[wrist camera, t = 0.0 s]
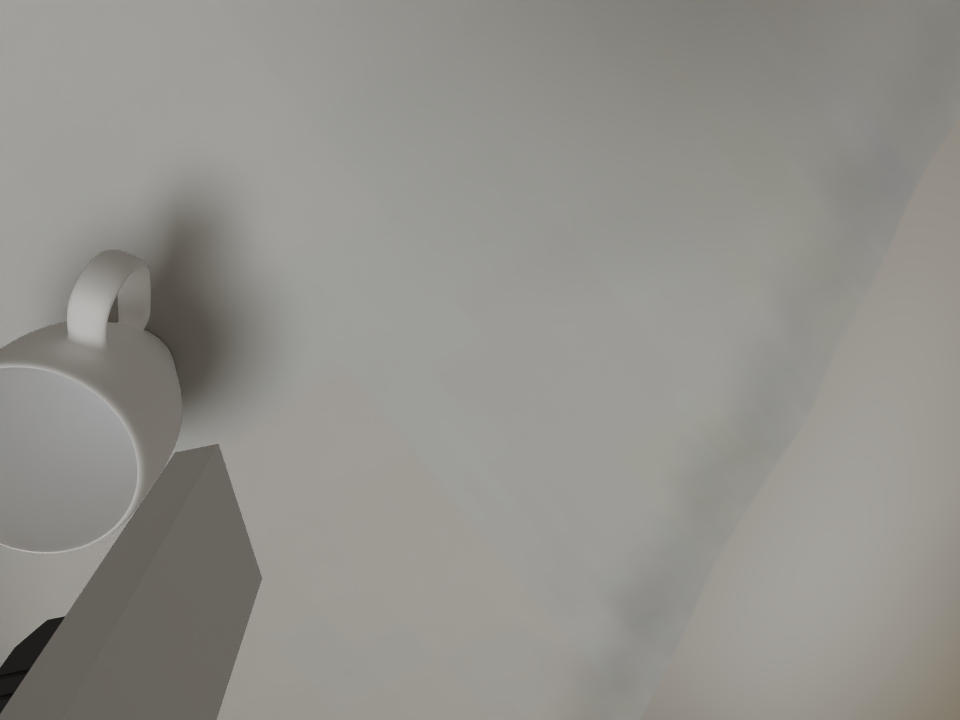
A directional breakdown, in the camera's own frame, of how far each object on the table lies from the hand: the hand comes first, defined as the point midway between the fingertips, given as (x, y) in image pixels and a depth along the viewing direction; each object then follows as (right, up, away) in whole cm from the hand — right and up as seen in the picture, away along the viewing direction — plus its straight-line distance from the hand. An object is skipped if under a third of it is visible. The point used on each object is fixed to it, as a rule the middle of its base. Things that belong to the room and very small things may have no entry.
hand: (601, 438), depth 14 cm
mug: (-19, +3, +28) cm, 34 cm away
